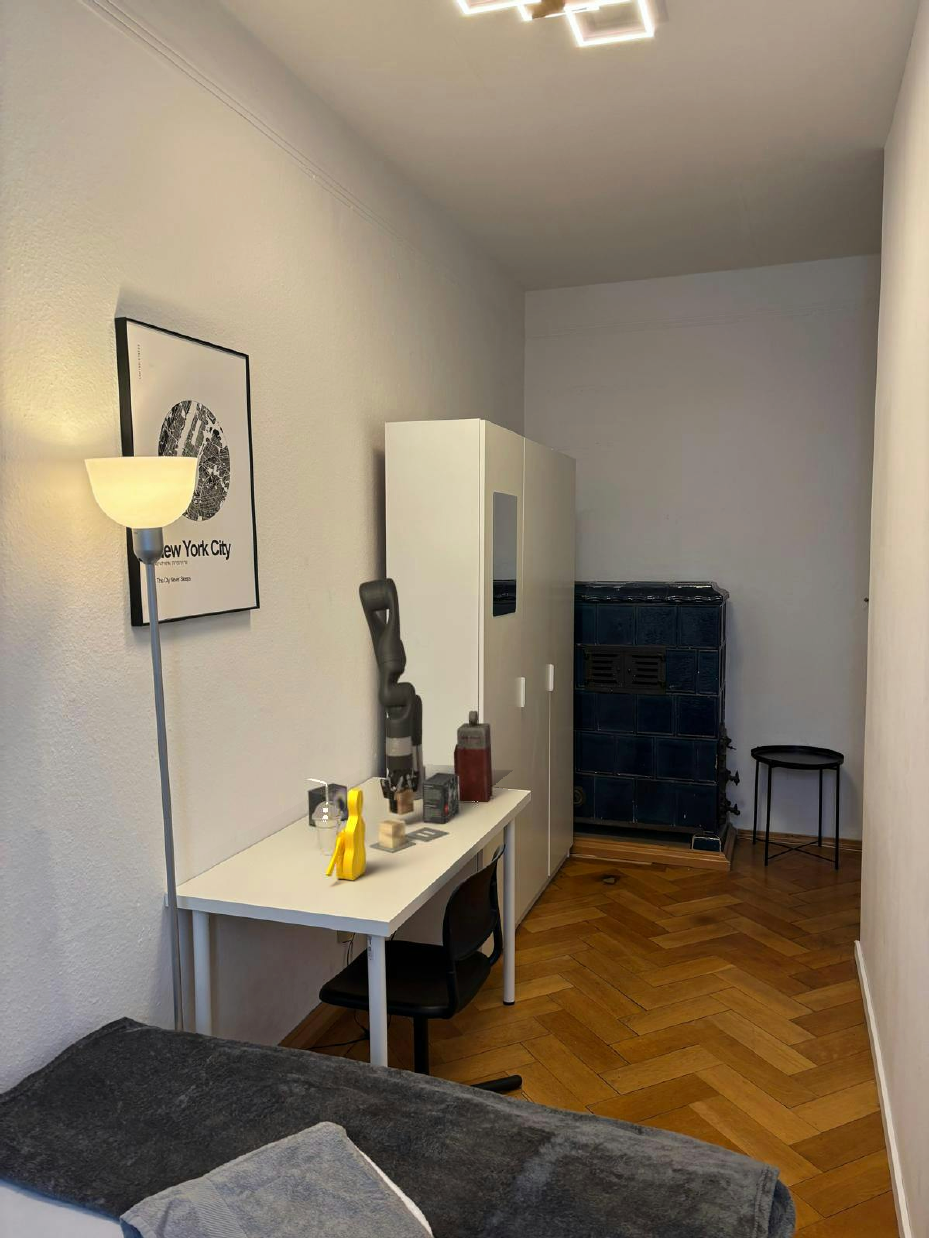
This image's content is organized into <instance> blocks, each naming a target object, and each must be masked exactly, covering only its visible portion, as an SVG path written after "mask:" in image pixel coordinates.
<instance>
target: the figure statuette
mask: <svg viewBox="0 0 929 1238" xmlns="http://www.w3.org/2000/svg"><path fill="white" fill-rule="evenodd" d="M363 805H364V793H363V790H362V789H359V788H352V789H350V790H349V791H348V794H347V806H348V820H347V822H346V825H345V828H344V829H342V830H341V831H339V833H338V835H337V836H336V837H337V840H336V843H335V850H334V853H333V855H331V858H330V861H329V864H328V866H327V869H326V871H325V876H327V877H332V876H333V874H334V870H335V869H336V874H335V875H336V878H337V879H342V880H343V879H344V880H349V881H355V880H356V879H358V878H359V877H360V876H362V875H363V874H364V873H365V871H366V862H367V861H366V860H367V854H366V853H367V852H366V846H365V836H366V824H365V821H364V819H363V816H362V812H363V807H364V806H363Z"/></svg>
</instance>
